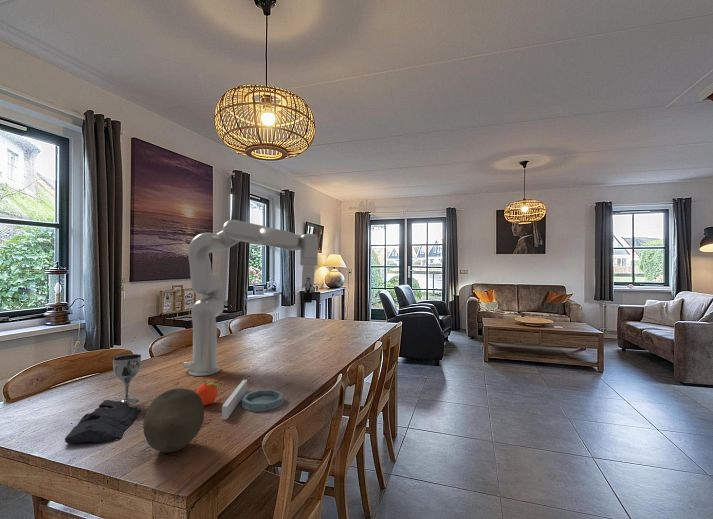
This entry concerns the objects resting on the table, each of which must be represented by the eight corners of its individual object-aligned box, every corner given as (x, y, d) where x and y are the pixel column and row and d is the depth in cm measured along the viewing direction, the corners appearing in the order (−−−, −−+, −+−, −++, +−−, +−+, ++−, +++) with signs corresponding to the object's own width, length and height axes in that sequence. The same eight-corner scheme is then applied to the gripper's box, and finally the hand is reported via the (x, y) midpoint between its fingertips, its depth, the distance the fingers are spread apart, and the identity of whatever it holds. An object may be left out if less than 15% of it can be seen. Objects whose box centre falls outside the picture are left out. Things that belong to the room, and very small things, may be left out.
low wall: (221, 419, 105) (221, 406, 105) (242, 390, 129) (243, 379, 129) (226, 419, 105) (227, 406, 105) (246, 390, 129) (247, 379, 129)
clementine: (221, 398, 121) (221, 378, 121) (220, 406, 114) (220, 385, 114) (196, 401, 118) (196, 380, 119) (193, 409, 112) (194, 387, 112)
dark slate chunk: (50, 452, 87) (51, 432, 87) (88, 415, 108) (88, 400, 108) (121, 443, 92) (121, 424, 92) (144, 409, 113) (144, 394, 113)
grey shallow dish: (236, 412, 110) (236, 404, 110) (247, 395, 124) (247, 389, 124) (280, 411, 111) (280, 404, 111) (286, 395, 125) (286, 388, 125)
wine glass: (145, 398, 120) (146, 355, 120) (123, 407, 113) (124, 361, 113) (129, 395, 123) (129, 353, 123) (106, 404, 115) (107, 358, 115)
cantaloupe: (127, 459, 84) (128, 396, 84) (176, 432, 97) (177, 378, 97) (171, 472, 78) (172, 405, 79) (217, 442, 92) (218, 385, 92)
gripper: (301, 262, 161) (300, 299, 161) (299, 262, 144) (298, 303, 144) (317, 262, 162) (317, 299, 162) (317, 262, 145) (316, 303, 144)
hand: (308, 301), depth 153 cm, fingers open, 9 cm apart
